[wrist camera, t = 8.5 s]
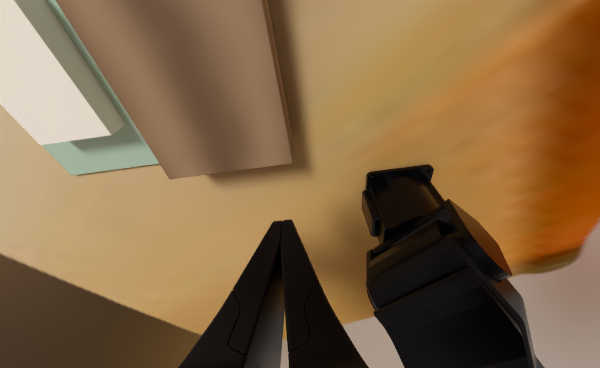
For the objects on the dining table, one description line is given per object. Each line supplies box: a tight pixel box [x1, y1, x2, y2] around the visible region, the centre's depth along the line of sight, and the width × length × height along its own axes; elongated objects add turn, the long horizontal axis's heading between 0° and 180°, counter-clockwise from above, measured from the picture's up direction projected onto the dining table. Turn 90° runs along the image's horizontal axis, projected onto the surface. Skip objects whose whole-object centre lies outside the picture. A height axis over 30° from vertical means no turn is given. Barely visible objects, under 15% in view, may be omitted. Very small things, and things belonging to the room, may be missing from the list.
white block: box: [0, 0, 126, 145], centre depth 16 cm, size 6×9×2 cm, turn 8°
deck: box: [56, 0, 293, 179], centre depth 14 cm, size 10×16×4 cm, turn 8°
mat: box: [42, 0, 159, 176], centre depth 17 cm, size 12×17×1 cm
